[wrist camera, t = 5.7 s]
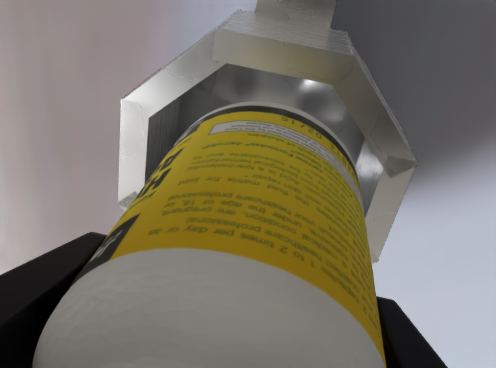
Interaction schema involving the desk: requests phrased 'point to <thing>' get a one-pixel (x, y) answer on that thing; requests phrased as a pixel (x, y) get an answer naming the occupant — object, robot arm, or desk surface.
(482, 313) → the desk surface
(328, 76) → the cup bracket
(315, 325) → the supplement bottle
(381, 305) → the robot arm
